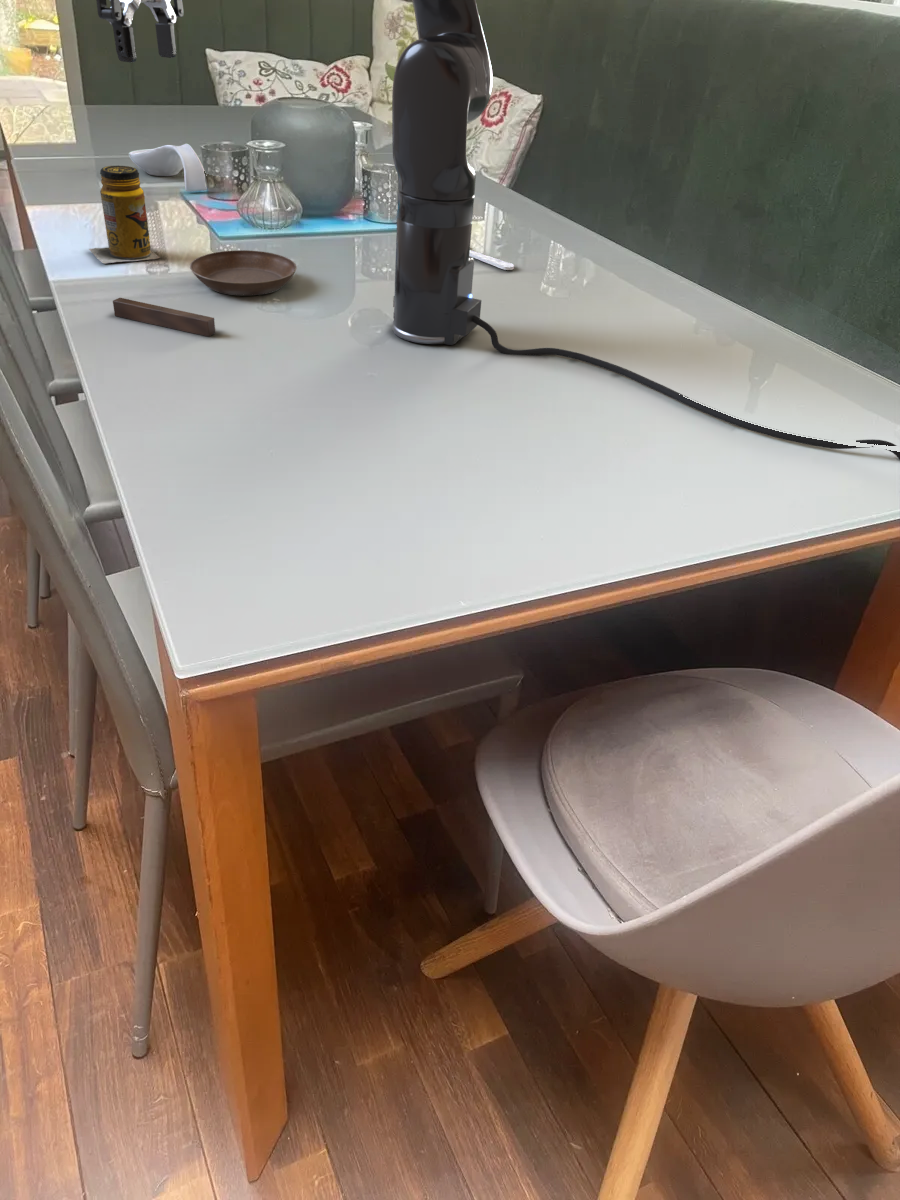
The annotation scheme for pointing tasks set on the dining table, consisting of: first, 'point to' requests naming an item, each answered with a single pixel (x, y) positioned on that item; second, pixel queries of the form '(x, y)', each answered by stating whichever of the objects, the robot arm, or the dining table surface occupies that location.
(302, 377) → the dining table surface
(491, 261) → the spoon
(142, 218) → the condiment
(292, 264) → the saucer
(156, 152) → the spoon rest
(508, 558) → the dining table surface
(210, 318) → the rail
